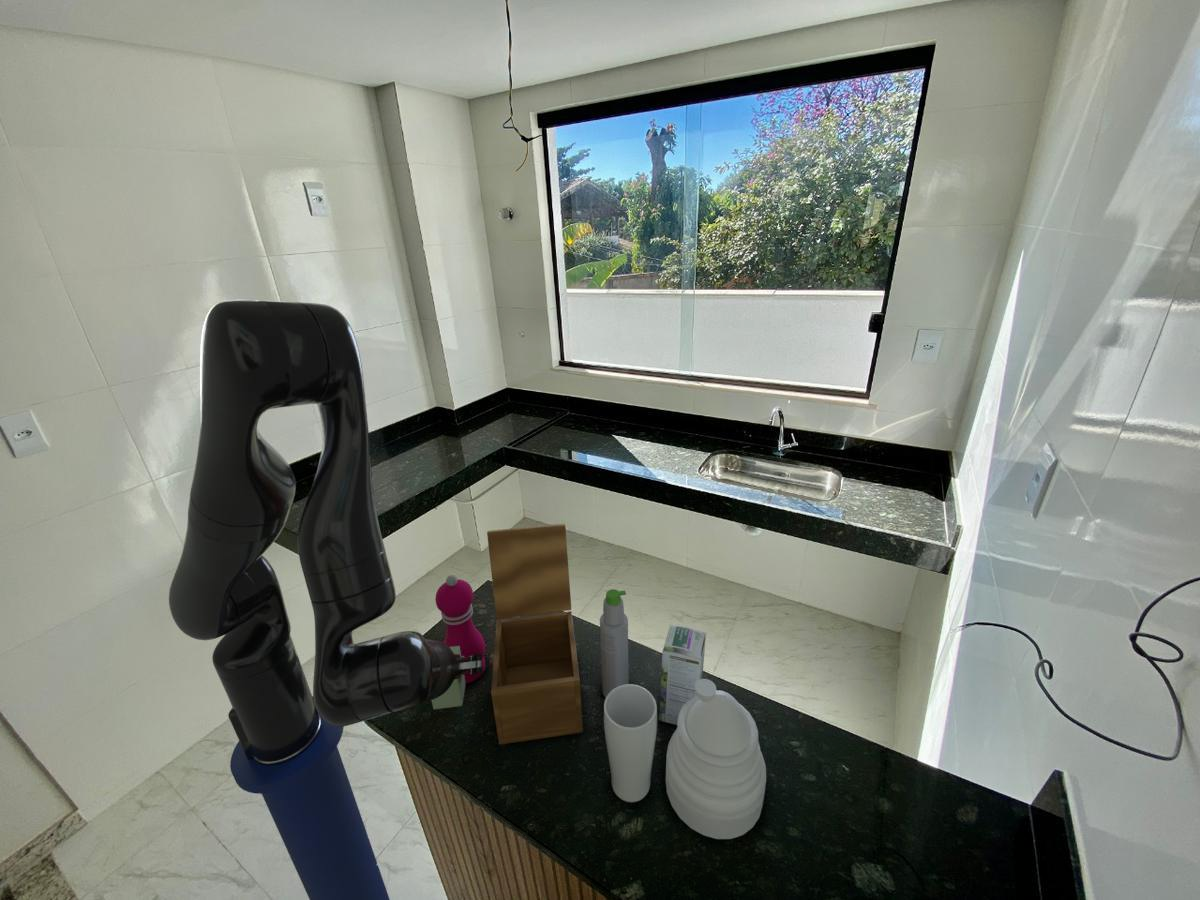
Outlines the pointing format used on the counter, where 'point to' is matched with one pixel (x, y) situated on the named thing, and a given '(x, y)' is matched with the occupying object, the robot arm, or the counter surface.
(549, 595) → the cover
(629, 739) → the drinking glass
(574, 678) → the keepsake box
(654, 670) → the counter surface
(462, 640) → the pepper mill
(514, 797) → the counter surface
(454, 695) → the block
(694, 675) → the syrup box
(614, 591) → the bottle
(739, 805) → the honey pot
